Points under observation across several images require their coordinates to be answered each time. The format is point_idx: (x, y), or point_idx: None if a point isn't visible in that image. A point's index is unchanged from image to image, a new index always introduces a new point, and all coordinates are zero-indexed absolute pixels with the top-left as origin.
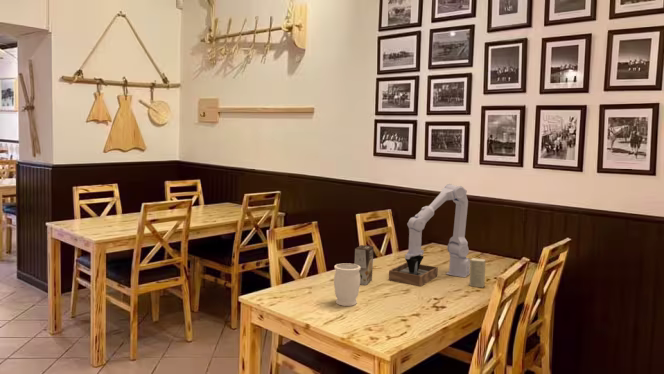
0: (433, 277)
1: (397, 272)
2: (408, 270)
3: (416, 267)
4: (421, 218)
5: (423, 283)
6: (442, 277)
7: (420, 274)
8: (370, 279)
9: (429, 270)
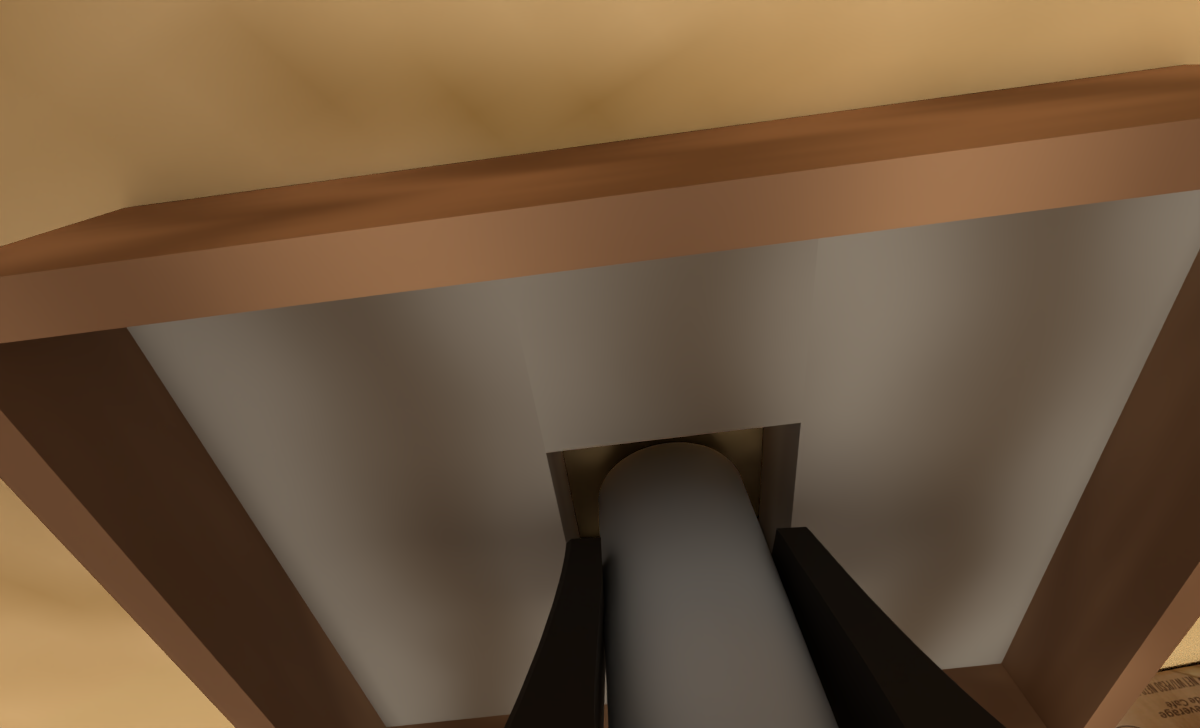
0: (364, 181)
1: (1147, 665)
2: None
3: (742, 621)
4: None
5: (1049, 87)
6: (29, 58)
7: (632, 420)
8: (1178, 702)
9: (182, 437)
